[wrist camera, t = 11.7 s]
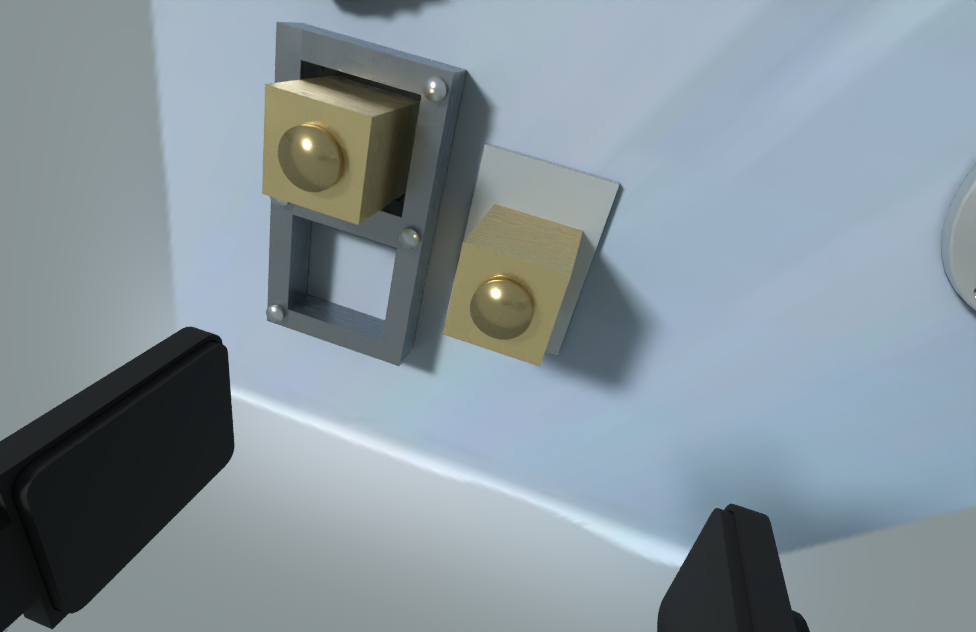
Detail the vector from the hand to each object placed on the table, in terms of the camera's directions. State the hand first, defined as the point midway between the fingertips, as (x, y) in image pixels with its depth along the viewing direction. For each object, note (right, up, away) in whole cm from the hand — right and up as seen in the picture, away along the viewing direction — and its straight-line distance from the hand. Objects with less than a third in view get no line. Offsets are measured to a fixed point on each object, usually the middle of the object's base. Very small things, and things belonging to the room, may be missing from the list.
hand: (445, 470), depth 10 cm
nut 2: (+3, +6, +24) cm, 25 cm away
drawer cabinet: (-7, +10, +25) cm, 28 cm away
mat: (+3, +7, +24) cm, 25 cm away
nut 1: (-6, +14, +23) cm, 28 cm away
